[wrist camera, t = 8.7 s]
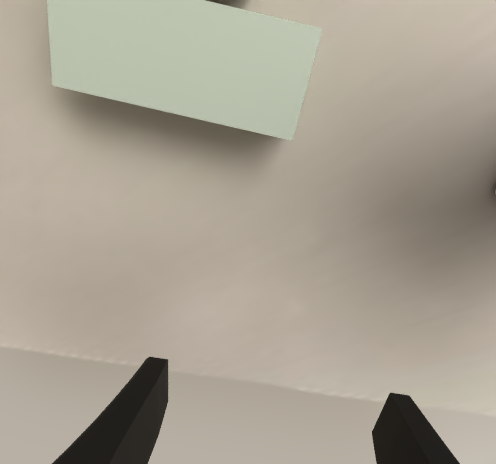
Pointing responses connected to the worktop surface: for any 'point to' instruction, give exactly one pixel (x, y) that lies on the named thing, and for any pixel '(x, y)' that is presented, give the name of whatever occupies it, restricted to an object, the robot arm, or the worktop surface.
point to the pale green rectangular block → (186, 59)
